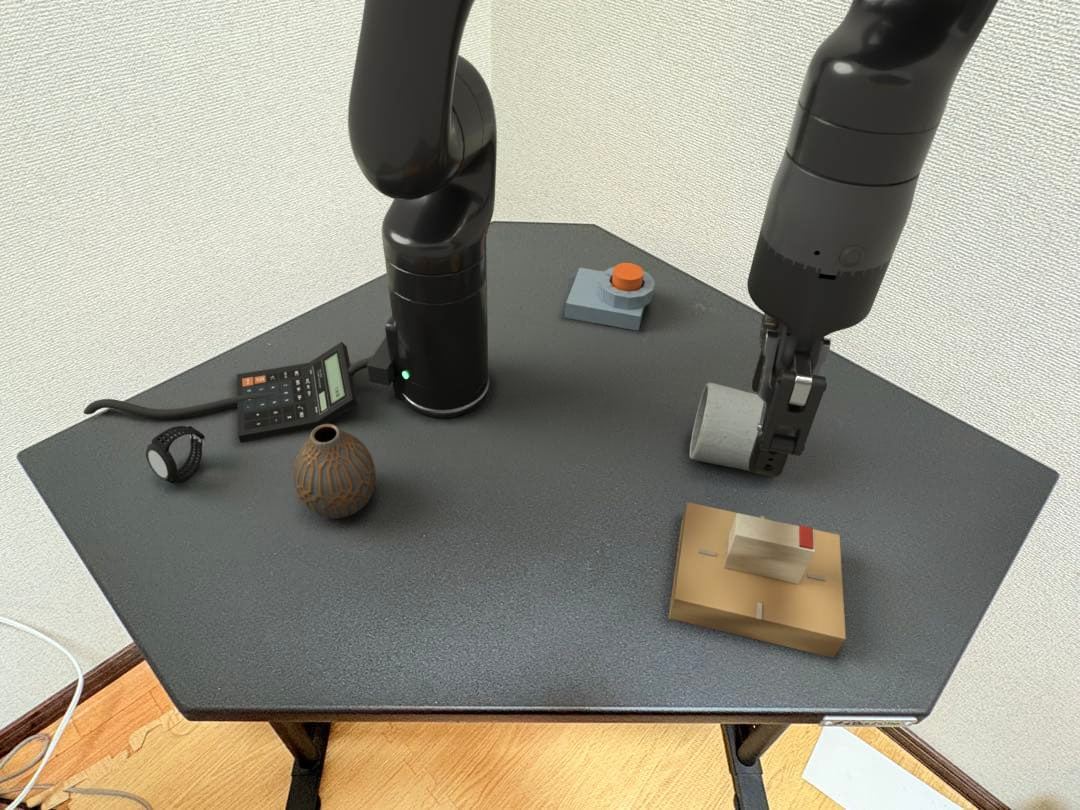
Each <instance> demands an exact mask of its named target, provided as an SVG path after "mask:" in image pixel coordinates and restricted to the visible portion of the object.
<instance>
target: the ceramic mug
mask: <svg viewBox="0 0 1080 810" xmlns="http://www.w3.org/2000/svg"><path fill="white" fill-rule="evenodd" d="M762 408H763V401H762V400H761V399H760V398H759V397H758V393H753V392H748V391H744V390H740V389H738V388H734V387H729V386H726V385H721V384H718V383H714V382H707V383H706V384H705V386H704V387H703V390H702V393H701V395H700V399H699V403H698V407H697V411H696V415H695V419H694V422H693V428H692V433H691V440H690V445H689V458H690V459H691V460H693V461H698V462H702V463H708V464H712V465H717V466H723V467H728V468H734V469H738V470H743V471H747V472H751V471H750V470H749V458H750V455H751V452H752V449H753V446H754V443H755V439H756V436H757V433H758V431H757V426H758V423H760V419H761V414H762Z"/></svg>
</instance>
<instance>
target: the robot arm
mask: <svg viewBox="0 0 1080 810" xmlns="http://www.w3.org/2000/svg"><path fill="white" fill-rule="evenodd" d="M475 2H476V0H364V6H363V11H362V19H361V25H360V31H359V38H358V43H357V50H356V55H355V62H354V67H353V73H352V77H351V78H352V79H351V85H350V92H349V99H348V106H347V107H348V108H347V132H348V138H349V139H348V140H349V144H350V148H351V151H352V154H353V156H354V159H355V160H354V161H355V162H356V164H357V166H358V168H359V170H360V172H361V173H362V175H363V176H364V177H365V179H366V181H368V183H369V185H371V186H372V187H373V188H374V189H375V190H376V191H378V192H379V193H380V194H382V195H384V196H385V197H388V198H390V199H393V200H392V202H391V204H390V205H389V207H388V209H387V211H386V213H385V215H384V217H383V220H382V224H381V240H382V241H381V242H382V249H383V254H384V255H383V256H384V263H385V270H386V271H385V272H386V278H387V285H388V286H387V287H388V294H389V301H390V309H391V315H390V316H389V318H388V320H387V321H386V323H385V326H384V331H385V337H384V338H383V340H382V342H381V343H380V345H379V346H378V347H377V349H376V350H375V352H374V354H373V355H371V356H368V357H366V358H363V359H360V360H358V361H356V362H355V363H353V364H350V367H349V368H348V372H349V374H350V375H351V376H353V377H354V376H355V374H357V373H358V372H360V371H362V370H364V369H367V373H368V375H367V376H368V380H369V383H371V384H375V385H376V384H377V385H381V386H386V387H391V385H392V389H393V396H394V398H395V399H398V400H402V401H403V402H404V404H406V405H407V406H408V407H409V408H410V409H411V410H413V411H415V412H416V413H418V414H421V415H424V416H427V417H431V418H441V419H444V418H454V417H459V416H463V415H466V414H468V413H470V412H472V411H474V410H476V409H477V408H478V407H479V406H480V405H481V404H483V403H484V402H485V400H486V399H487V397H488V395H489V391H490V375H489V373H490V371H489V335H488V334H489V331H488V330H489V329H488V327H489V325H488V323H489V322H488V275H487V274H488V273H487V272H488V269H487V267H488V266H487V235H488V230H489V227H490V224H491V222H492V220H493V216H494V211H495V204H496V203H495V202H496V179H497V157H498V156H497V154H498V125H497V124H498V123H497V116H496V109H495V104H494V100H493V97H492V94H491V91H490V89H489V87H488V84H487V83H486V81H485V79H484V77H483V76H482V74H481V73H480V72H479V70H478V69H477V68H476V67H475V66H474V65H473V64H472V62H470V61H469V60H468V59H467V58H465V57H464V56H462V55H460V54H459V53H460V48H461V44H462V40H463V35H464V32H465V30H466V29H465V28H466V26H467V22H468V19H469V16H470V14H471V11H472V9H473V6H474V4H475ZM998 2H999V0H852V1H851V4H850V6H849V9H848V11H847V12H846V14H845V16H844V18H843V19H842V21H841V22H840V23H839V25H838V26H837V27H836V28H835V30H834V31H832V32H831V33H830V34H829V35H828V36H827V37H826V38H825V39H824V40H823V41H822V43H820V45H819V46H818V47H817V48H816V50H815V52H814V53H813V55H812V56H811V59H810V61H809V63H808V66H807V68H806V71H805V74H804V77H803V80H802V83H801V88H800V91H799V95H798V99H797V103H796V106H795V111H794V115H793V118H792V122H791V126H790V130H789V133H788V137H787V140H786V141H787V142H786V147H785V148H784V152H783V156H782V159H781V160H780V163H779V165H778V168H777V170H776V173H775V175H774V178H773V181H772V184H771V187H770V190H769V194H768V198H767V202H766V206H765V210H764V214H763V218H762V222H761V225H760V230H759V234H758V237H757V242H756V246H755V250H754V253H753V258H752V261H751V266H750V269H749V273H748V277H747V282H746V283H747V285H746V286H747V293H748V295H749V297H750V299H751V301H752V302H753V303H754V305H755V306H756V307H757V308H758V309H759V310H760V311H761V312H763V316H762V318H761V326H760V331H759V332H760V333H759V339H758V340H759V344H760V349H761V350H760V353H759V357H758V359H757V362H756V367H755V370H754V374H753V377H752V380H751V390H752V391H753V392H754V393H756V394H757V395H758V397H759V398H760V399H761V400H762V401H763V408H762V414H761V419H760V423H758V426H757V431H758V433H757V436H756V439H755V443H754V446H753V449H752V452H751V455H750V458H749V470H750V471H749V472H751V473H753V474H758V475H764V476H769V477H778V476H780V475H781V474H782V473H783V470H784V467H785V465H786V462H787V460H788V456H789V455H791V456H796V457H801V456H802V454H803V452H804V451H805V447H806V444H807V440H808V437H809V434H810V432H811V429H812V426H813V424H814V420H815V417H816V415H817V413H818V409H819V406H820V404H821V401H822V398H823V396H824V393H825V392H826V391H827V387H828V386H827V385H828V383H827V377H826V376H824V375H821V374H822V369H823V366H824V365H826V364H827V362H828V360H829V356H830V355H829V354H830V349H831V344H832V340H831V337H827V336H829V335H831V334H833V333H836V332H838V331H839V332H840V331H842V330H846V329H849V328H852V327H854V326H857V325H858V324H860V323H861V322H863V321H864V320H865V319H866V318H867V317H868V316H869V314H870V313H871V310H872V308H873V306H874V304H875V301H876V298H877V296H878V293H879V291H880V288H881V286H882V284H883V281H884V278H885V276H886V273H887V271H888V268H889V266H890V264H891V262H892V258H893V256H894V253H895V250H896V248H897V246H898V244H899V241H900V239H901V236H902V233H903V232H904V229H905V226H906V224H907V221H908V218H909V215H910V212H911V209H912V204H913V201H914V198H915V193H916V190H917V189H916V188H917V184H918V181H919V178H920V175H921V172H922V171H923V168H924V165H925V162H926V160H927V157H928V156H929V152H930V149H931V147H932V145H933V142H934V140H935V137H936V135H937V133H938V129H939V127H940V124H941V122H942V119H943V116H944V113H945V111H946V107H947V104H948V101H949V98H950V96H951V95H950V94H951V92H952V89H953V86H954V84H955V81H956V79H957V77H958V75H959V73H960V70H961V69H962V67H963V65H964V63H965V62H966V59H967V58H968V56H969V54H970V52H971V51H972V49H973V47H974V46H975V44H976V42H977V40H978V39H979V37H980V35H981V33H982V32H983V31H984V28H985V27H986V24H987V23H988V21H989V19H990V17H991V15H992V13H993V12H994V10H995V8H996V7H997V4H998ZM280 394H281V393H277V392H263V393H254V394H248V395H242V396H237V395H236V396H233V397H228V398H224V399H220V400H216V401H211V402H207V403H203V404H198V405H192V406H186V407H178V408H168V409H166V408H165V409H161V408H152V407H151V408H150V407H146V406H141V405H137V404H135V403H130V402H126V401H123V400H119V399H113V398H102V399H97V400H94V401H92V402H90V403H89V404H88V405H87V406H86V407H85V409H84V410H83V414H84V415H92V414H94V413H96V412H97V411H98V410H99V411H100V410H101V409H113V410H117V411H118V410H119V411H121V412H125V413H130V414H132V415H136V416H140V417H144V418H145V417H146V418H151V419H178V418H187V417H192V416H198V415H202V414H207V413H211V412H215V411H220V410H224V409H228V408H232V407H236V406H237V402H239V401H244V400H250V399H257V398H265V397H271V396H277V395H280ZM237 407H238V406H237Z"/></svg>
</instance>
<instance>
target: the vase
mask: <svg viewBox="0 0 1080 810" xmlns="http://www.w3.org/2000/svg"><path fill="white" fill-rule="evenodd" d="M368 449H369V448H367V447H366V445H365V443H364V442H362V441H361V440H360V439H359V438H358V437H356V436H355V435H354V434H351V433H349V432H346V431H344V430H341V429H340V428H339V427H338V426H337V425H335V424H332V423H326V424H323V425H320V426H317V427H316V428H315V429H312V430H311V432H310V435H309V437H308V438H307V439H306V440H305V441H304V443H303V444H302V445H301V446H300V447H299V449H298V451H297V452H296V453H297V454H296V456H295V459H294V462H293V470H292V477H293V484H294V487H295V490H296V493H297V495H298V497H299V499H300V501H301V502H302V503H303V504H304V506H306V507H307V509H309V510H310V511H311V512H312V513H314V514H315V515H318V516H320V517H323V518H327V519H344V518H347V517H351V516H352V515H354V514H356V513H358V512H359V511H360V510H361V509H363V508H364V507H365V506H366V505H367V503H368V502H369V501H370V499H371V497H372V495H373V493H374V489H375V485H376V478H377V477H376V467H375V463H374V458H373V457H372V454H371V452H370V451H369V450H368Z"/></svg>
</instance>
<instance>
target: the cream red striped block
mask: <svg viewBox="0 0 1080 810" xmlns="http://www.w3.org/2000/svg"><path fill="white" fill-rule="evenodd" d="M736 513H737V514H736V517H735V520H734V522H733V525H732V528H731V531H730V533H729V536H728V539H727V542H726V544H725V551H724V563H723V567H725V568H729V569H733V570H738V571H742V572H747V573H751V574H755V575H760V576H764V577H769V578H773V579H777V580H782V581H786V582H790V583H795V584H799V582H800V580H801V578H802V576H803V574H804V572H805V570H806V568H807V566H808V564H809V563H810V561H811V559H812V557H813V555H814V553H815V534H814V530H815V529H814V528H812V527H809V526H804V525H796V524H791V523H787V522H782V521H776V520H773V521H772V519H768V518H765V519H763V518H760V517H759V516H753V515H749V514H745V513H739V512H736ZM758 517H759V518H758ZM786 523H787V524H786Z"/></svg>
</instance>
